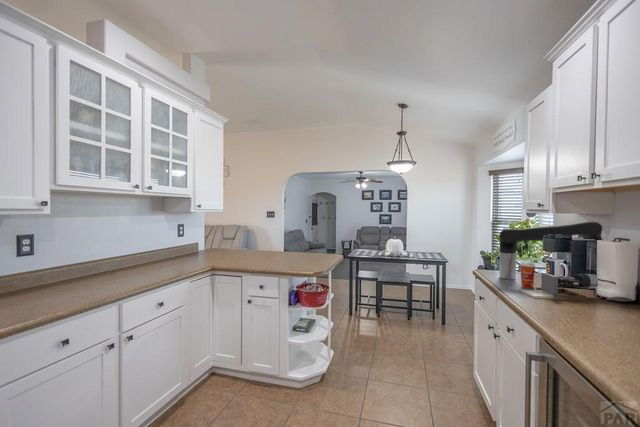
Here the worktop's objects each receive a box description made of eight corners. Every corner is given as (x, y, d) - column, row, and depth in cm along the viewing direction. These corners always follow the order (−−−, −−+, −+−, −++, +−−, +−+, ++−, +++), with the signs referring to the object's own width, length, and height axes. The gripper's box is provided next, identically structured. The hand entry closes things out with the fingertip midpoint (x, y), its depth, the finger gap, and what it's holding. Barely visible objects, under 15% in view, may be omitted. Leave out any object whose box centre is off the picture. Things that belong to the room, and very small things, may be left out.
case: (536, 291, 173) (536, 287, 173) (564, 291, 172) (564, 288, 171) (555, 299, 157) (555, 295, 157) (586, 300, 156) (586, 296, 156)
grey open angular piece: (521, 291, 172) (521, 272, 172) (544, 292, 171) (544, 272, 170) (534, 298, 160) (534, 277, 160) (558, 298, 159) (559, 277, 158)
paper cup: (516, 285, 185) (517, 262, 184) (524, 284, 188) (525, 261, 188) (530, 288, 178) (530, 264, 177) (538, 287, 181) (538, 263, 180)
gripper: (576, 271, 169) (543, 271, 171) (596, 276, 156) (560, 276, 158) (576, 284, 170) (543, 284, 171) (596, 291, 156) (560, 290, 158)
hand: (551, 280), depth 164 cm, fingers closed
